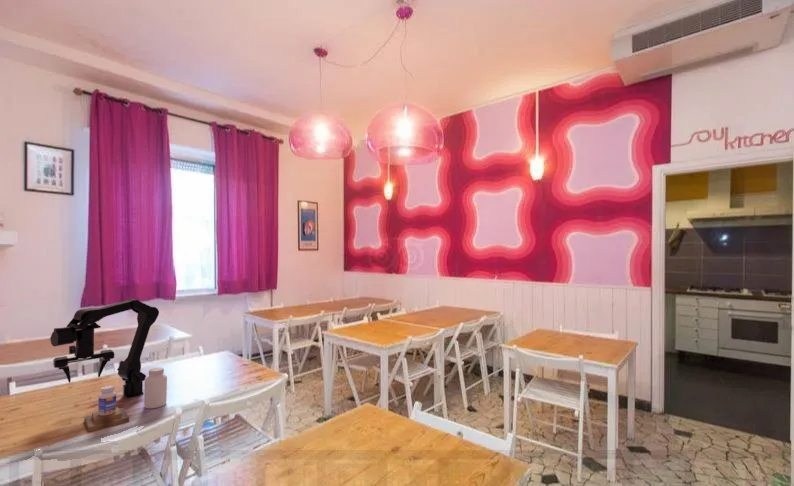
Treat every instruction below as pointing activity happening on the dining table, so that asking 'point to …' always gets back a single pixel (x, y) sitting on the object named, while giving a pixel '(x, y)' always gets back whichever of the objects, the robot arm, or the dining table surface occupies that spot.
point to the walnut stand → (105, 419)
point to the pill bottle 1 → (107, 401)
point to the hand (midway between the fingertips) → (84, 379)
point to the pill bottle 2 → (155, 388)
